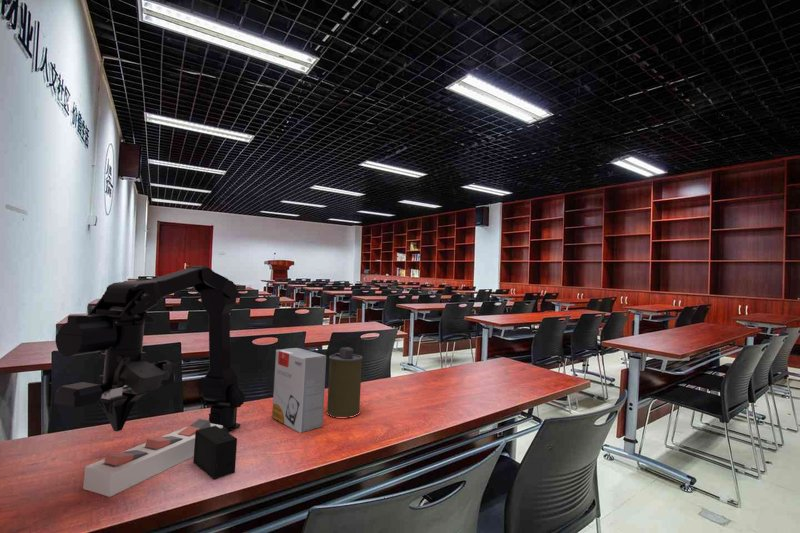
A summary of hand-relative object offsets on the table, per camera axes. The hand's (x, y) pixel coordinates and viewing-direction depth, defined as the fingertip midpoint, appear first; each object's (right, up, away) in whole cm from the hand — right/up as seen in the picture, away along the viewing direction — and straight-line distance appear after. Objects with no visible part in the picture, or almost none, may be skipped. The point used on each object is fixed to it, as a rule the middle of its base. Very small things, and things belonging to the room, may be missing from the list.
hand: (117, 430), depth 71 cm
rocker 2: (+3, -7, +9) cm, 12 cm away
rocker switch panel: (+3, -11, +10) cm, 15 cm away
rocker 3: (+5, -8, +17) cm, 19 cm away
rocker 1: (0, -6, +2) cm, 7 cm away
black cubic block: (+15, -11, +8) cm, 20 cm away
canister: (+36, -15, +45) cm, 59 cm away
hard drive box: (+24, -14, +35) cm, 45 cm away
